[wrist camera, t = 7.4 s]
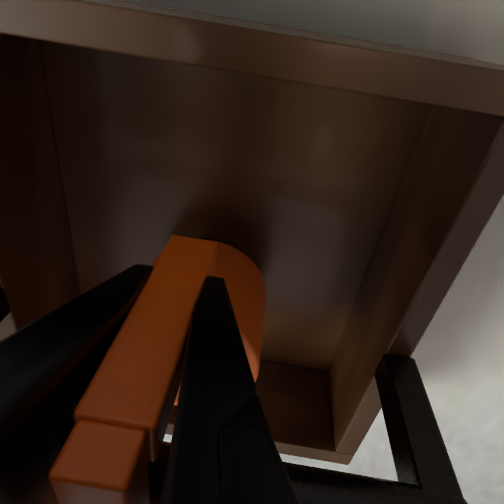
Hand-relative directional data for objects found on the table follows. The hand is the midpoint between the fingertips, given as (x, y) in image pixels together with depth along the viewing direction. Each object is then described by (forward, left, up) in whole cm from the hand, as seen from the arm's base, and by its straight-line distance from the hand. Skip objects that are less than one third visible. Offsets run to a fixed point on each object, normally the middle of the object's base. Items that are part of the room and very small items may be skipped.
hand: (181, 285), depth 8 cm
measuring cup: (0, -4, -4) cm, 6 cm away
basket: (0, -2, -6) cm, 6 cm away
